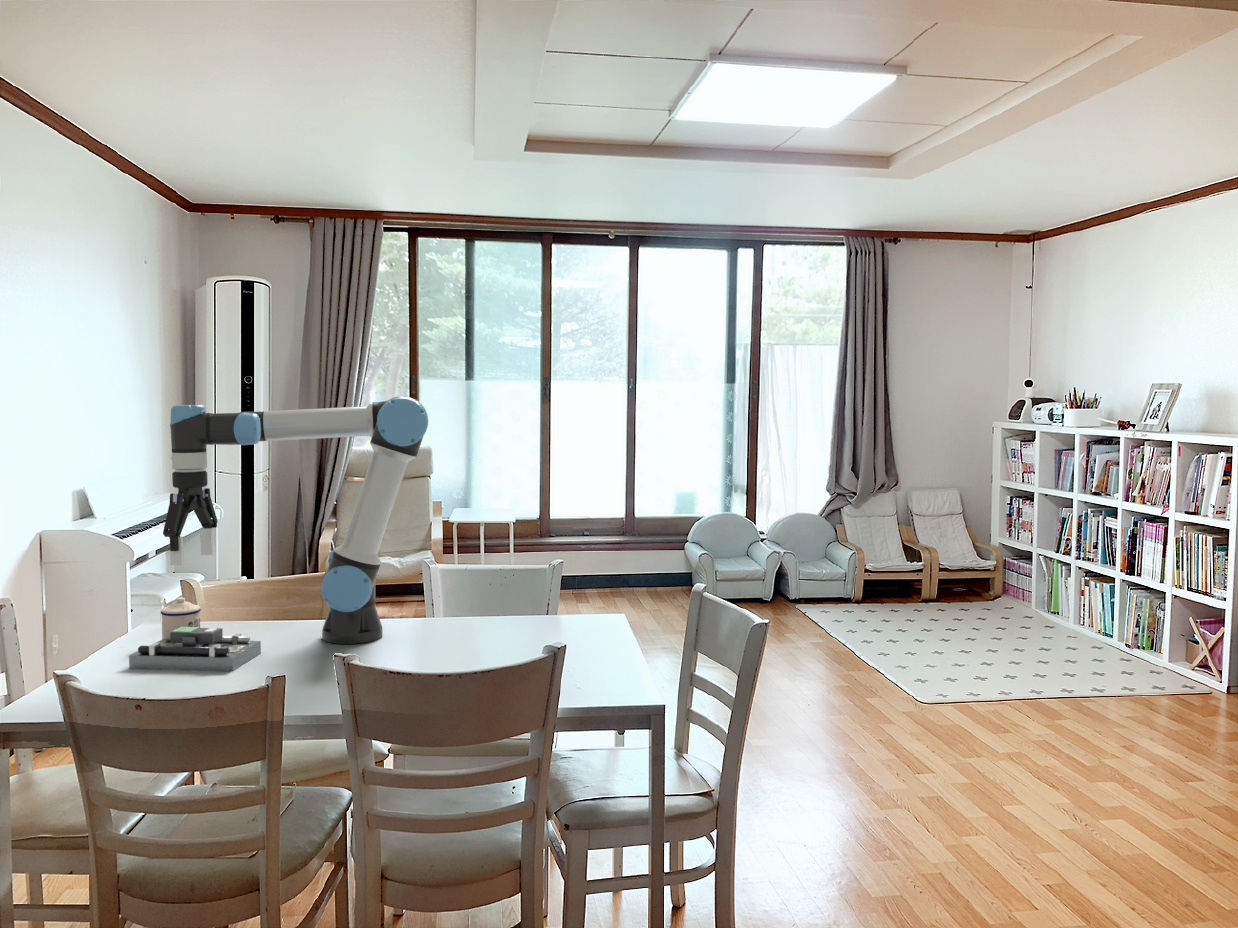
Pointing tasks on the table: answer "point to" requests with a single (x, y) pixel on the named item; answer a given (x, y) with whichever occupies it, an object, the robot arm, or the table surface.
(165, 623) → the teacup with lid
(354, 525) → the robot arm
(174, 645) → the panel
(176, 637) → the rocker
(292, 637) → the table surface
